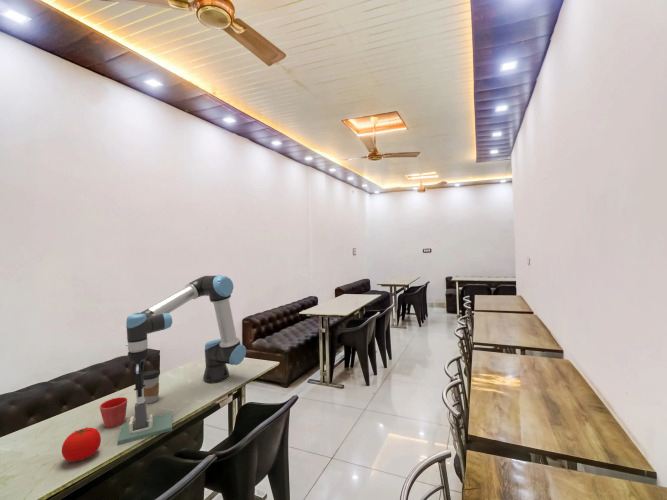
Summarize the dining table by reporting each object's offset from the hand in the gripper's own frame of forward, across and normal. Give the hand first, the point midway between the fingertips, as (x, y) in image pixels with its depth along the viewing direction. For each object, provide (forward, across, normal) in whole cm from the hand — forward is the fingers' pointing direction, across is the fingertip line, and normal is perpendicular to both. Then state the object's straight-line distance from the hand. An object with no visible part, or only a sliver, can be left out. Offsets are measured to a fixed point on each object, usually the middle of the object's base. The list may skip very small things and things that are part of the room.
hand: (140, 403), depth 141 cm
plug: (+10, 0, 0) cm, 10 cm away
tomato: (+12, +10, -19) cm, 25 cm away
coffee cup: (+12, -31, +2) cm, 33 cm away
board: (+12, 0, +2) cm, 12 cm away
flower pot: (+12, -14, -12) cm, 22 cm away
